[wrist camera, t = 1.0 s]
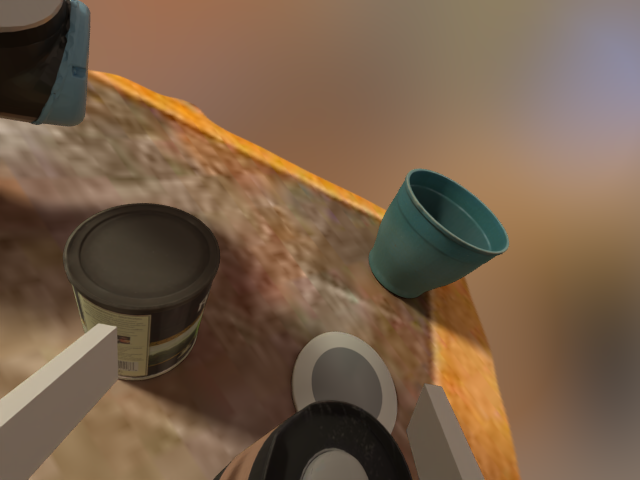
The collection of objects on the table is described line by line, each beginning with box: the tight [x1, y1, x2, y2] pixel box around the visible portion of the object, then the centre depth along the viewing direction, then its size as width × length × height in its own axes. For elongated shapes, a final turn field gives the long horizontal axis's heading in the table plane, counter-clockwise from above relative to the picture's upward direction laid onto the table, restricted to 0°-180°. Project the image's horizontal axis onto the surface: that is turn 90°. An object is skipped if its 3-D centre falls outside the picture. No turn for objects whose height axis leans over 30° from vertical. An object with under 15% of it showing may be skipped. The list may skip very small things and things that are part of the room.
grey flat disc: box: [291, 332, 397, 434], centre depth 37 cm, size 14×14×1 cm
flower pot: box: [369, 169, 509, 298], centre depth 51 cm, size 18×18×17 cm
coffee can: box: [63, 203, 220, 380], centre depth 27 cm, size 10×10×14 cm
